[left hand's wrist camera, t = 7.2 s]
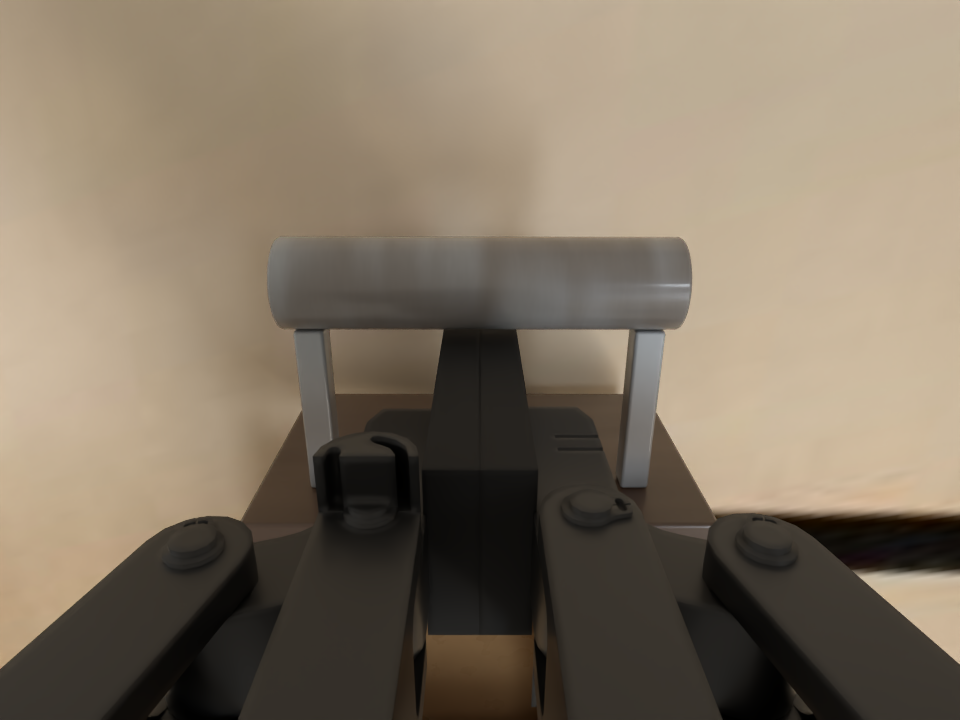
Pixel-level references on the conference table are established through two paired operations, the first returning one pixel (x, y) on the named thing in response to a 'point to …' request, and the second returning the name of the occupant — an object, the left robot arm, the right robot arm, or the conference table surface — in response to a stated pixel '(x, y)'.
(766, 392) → the conference table surface
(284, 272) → the drawer
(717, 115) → the conference table surface
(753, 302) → the conference table surface
